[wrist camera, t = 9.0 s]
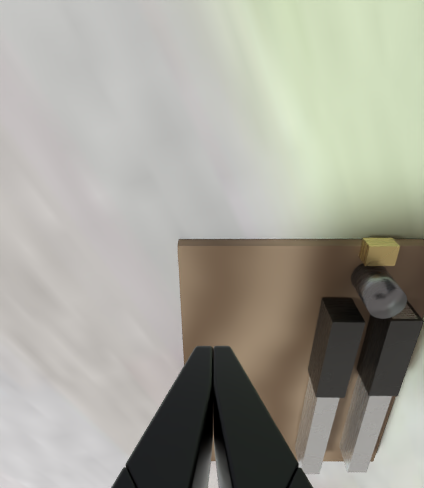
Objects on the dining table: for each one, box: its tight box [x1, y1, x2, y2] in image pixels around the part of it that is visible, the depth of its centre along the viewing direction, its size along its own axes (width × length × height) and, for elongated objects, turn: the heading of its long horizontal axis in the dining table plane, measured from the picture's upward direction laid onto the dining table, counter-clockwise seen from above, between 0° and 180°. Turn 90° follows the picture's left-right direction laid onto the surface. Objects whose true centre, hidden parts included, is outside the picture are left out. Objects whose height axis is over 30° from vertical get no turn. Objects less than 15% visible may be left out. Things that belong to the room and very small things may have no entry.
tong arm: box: [295, 298, 365, 474], centre depth 24 cm, size 2×14×2 cm, turn 179°
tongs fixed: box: [339, 238, 424, 472], centre depth 23 cm, size 4×18×3 cm, turn 0°
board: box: [178, 239, 424, 461], centre depth 25 cm, size 15×20×1 cm
